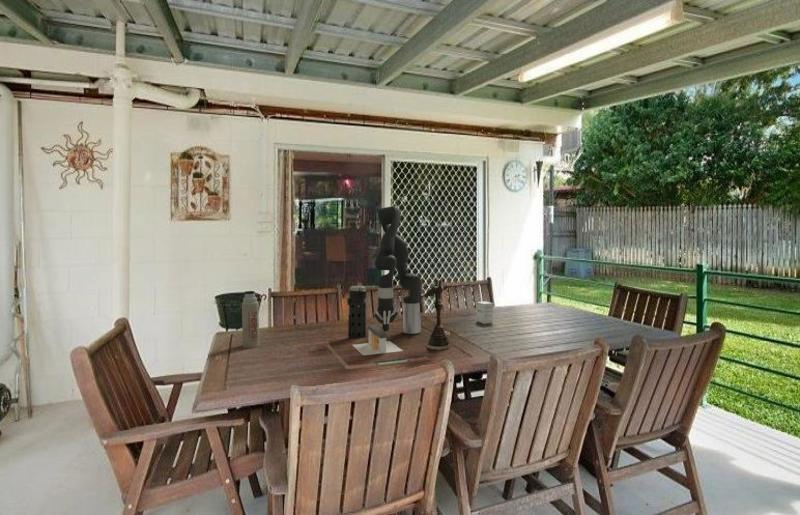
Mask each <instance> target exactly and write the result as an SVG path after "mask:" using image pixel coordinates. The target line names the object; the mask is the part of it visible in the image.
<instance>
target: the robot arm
mask: <svg viewBox="0 0 800 515" xmlns="http://www.w3.org/2000/svg"><path fill="white" fill-rule="evenodd" d="M377 216H378V220H379V224H380V226H381V227H382V230H383V232H384V233H383V234H382V237H381V239H380V245H379V246H380V247H379V251H378V253H377V255H376V257H375V259H374V268H375V269H376V270H377V271H388V273H386V274H381V275H379V276H378V290H377V309H376V311H375V312H373V313H372V314H373V316H374V318H375V319H376V321H378V323H380V324H382V331H384V332H385V333H387V332H388V331H389V330H390V324H391V323H393V322H394V320H395V319H396V318H397V316H398V315H399V312H398V311H397V310H395V308H394V295H395V294H394V284H393V282H394V274H395V270H396V273H397V276H398V280H399V285H400V287H401V288H402V289H403V290H404V291H409V295H407V296H404V297H403V300H402V303H403V304H402V308H403V309H402V312H403V314H402V323H403V325H402V332H403V333H404V334H407V335H408V334H409V335H416V334H420V333H421V331H422V330H421V329H422V328H421V321H422V318H421V315H420V299H421V297H422V296H421V294H422V293H421V292H422V278H421V277H420V276H419V275H418V274H413V273H411V274H410V273H409V272H408V268H407V263H408V260H409V256H410V254H409V249H408V245H407V243H406V241H405V240H404V239H403V238H402V237H401V236H400V235H398V229H399V226H400V222H401V210H400V209H399V207H398V206H397V205H392V206H391V205H390V206H386V207H382V208H379V209H378V210H377ZM380 317H381V318H380Z"/></svg>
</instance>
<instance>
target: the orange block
mask: <svg viewBox="0 0 800 515" xmlns="http://www.w3.org/2000/svg"><path fill="white" fill-rule="evenodd" d="M371 347H372V348H373V349H379V337H378V336H377V335H376V334H374V333H371Z"/></svg>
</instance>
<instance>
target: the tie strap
mask: <svg viewBox="0 0 800 515" xmlns="http://www.w3.org/2000/svg"><path fill="white" fill-rule="evenodd" d="M367 330H368V331H369V330H370V331H371V332H373V333H374V334H376V335H377V336H378V337H380V338H386V339H387V338H388V337H387V332H384V330H383V329H381V328H380V327H378V326H377V325H375V324H368V326H367Z"/></svg>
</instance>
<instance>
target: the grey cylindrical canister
mask: <svg viewBox="0 0 800 515" xmlns="http://www.w3.org/2000/svg"><path fill="white" fill-rule="evenodd" d="M493 314H494V303H493V302H490V301H477V302H476V322H477V323H479V324H480V323H481V324H483V325H485V324H493V323H494V322H493V321H494V317H493V316H494V315H493Z"/></svg>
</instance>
